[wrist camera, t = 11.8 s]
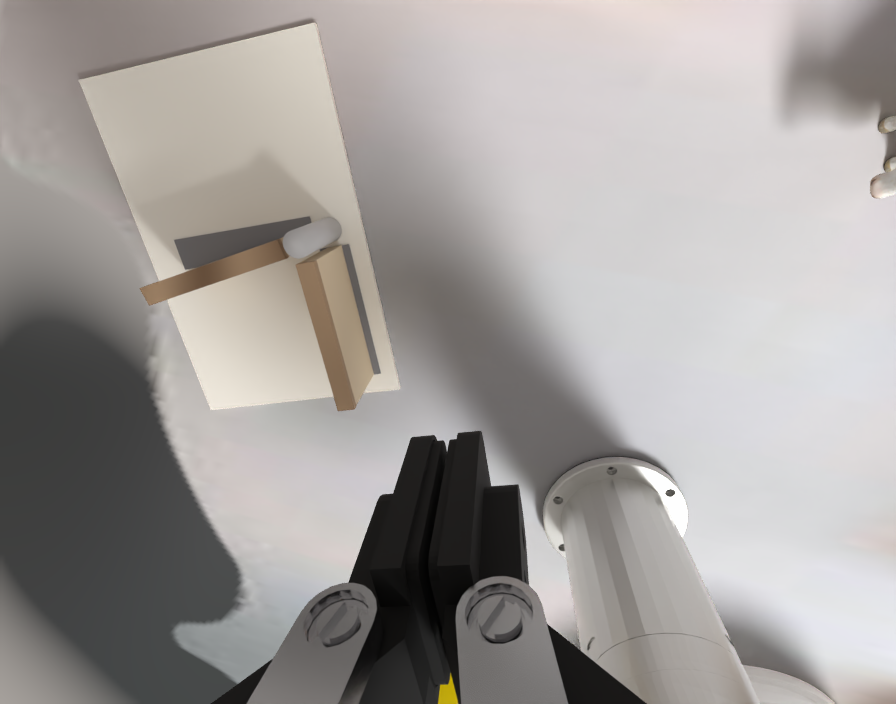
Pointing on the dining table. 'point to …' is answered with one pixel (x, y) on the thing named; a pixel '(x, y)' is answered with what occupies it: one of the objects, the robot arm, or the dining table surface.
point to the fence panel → (215, 272)
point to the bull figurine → (885, 167)
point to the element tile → (447, 693)
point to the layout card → (252, 216)
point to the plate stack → (783, 688)
